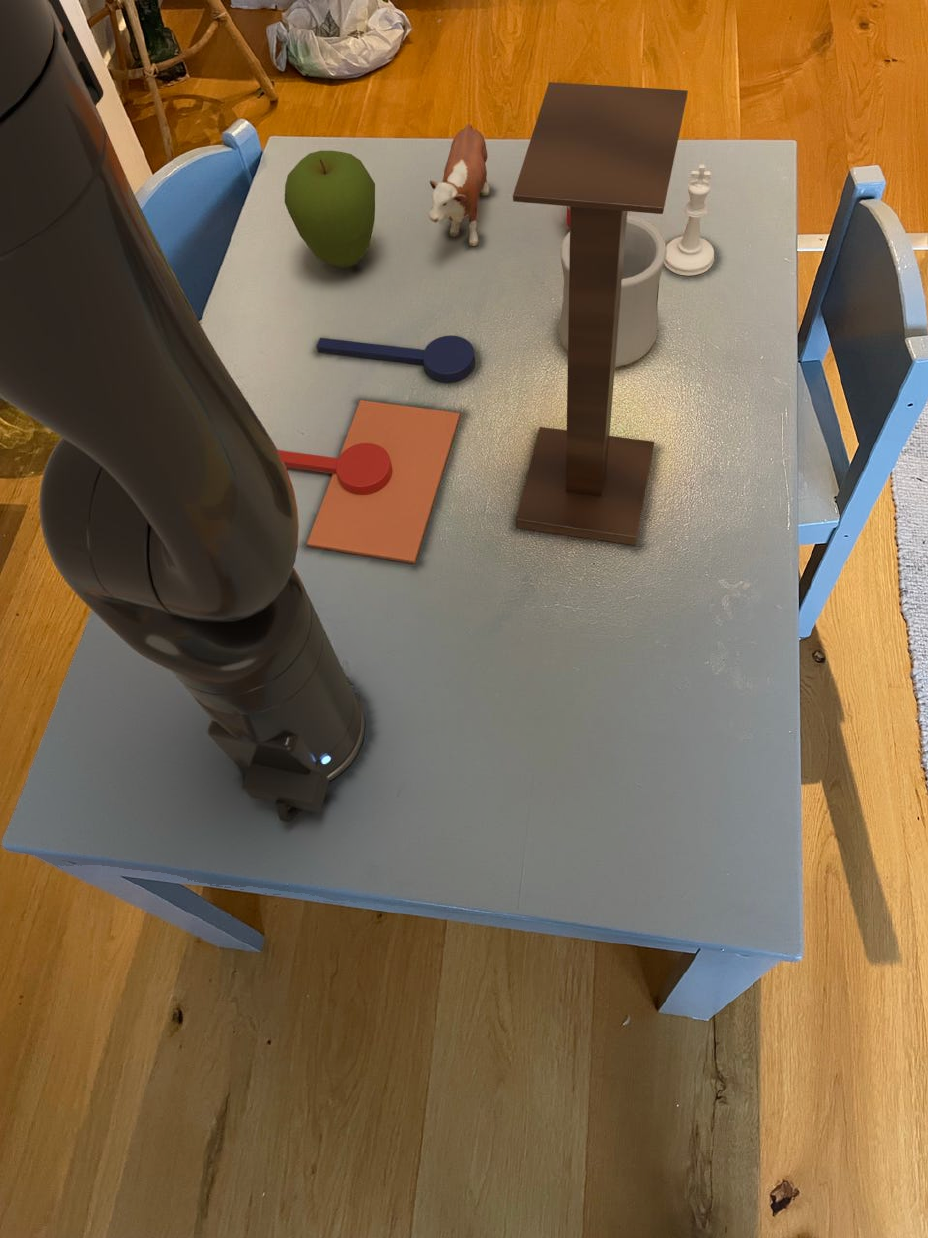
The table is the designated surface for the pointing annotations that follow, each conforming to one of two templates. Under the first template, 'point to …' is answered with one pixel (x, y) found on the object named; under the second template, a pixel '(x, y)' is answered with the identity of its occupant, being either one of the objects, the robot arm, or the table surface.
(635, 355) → the mug
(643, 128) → the spoon stand
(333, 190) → the apple
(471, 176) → the bull figurine
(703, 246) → the chess piece
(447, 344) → the navy spoon
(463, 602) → the table surface
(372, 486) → the red spoon
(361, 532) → the terracotta mat
